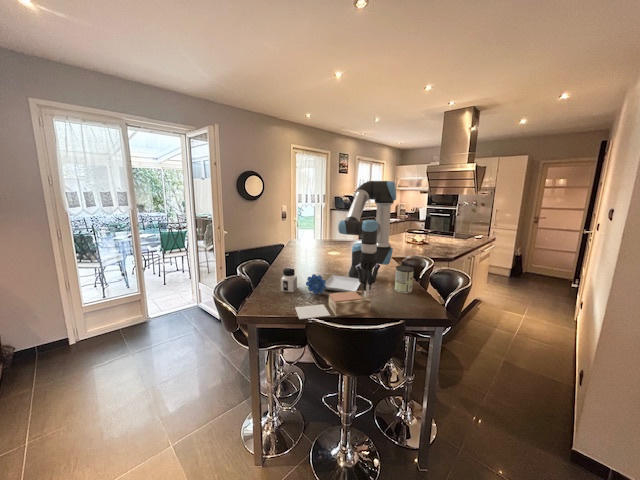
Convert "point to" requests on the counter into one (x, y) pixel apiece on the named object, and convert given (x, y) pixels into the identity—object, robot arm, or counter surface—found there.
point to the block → (344, 297)
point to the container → (288, 280)
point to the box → (350, 305)
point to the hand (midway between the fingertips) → (366, 296)
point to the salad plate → (342, 283)
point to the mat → (312, 311)
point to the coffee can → (404, 279)
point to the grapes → (316, 284)
